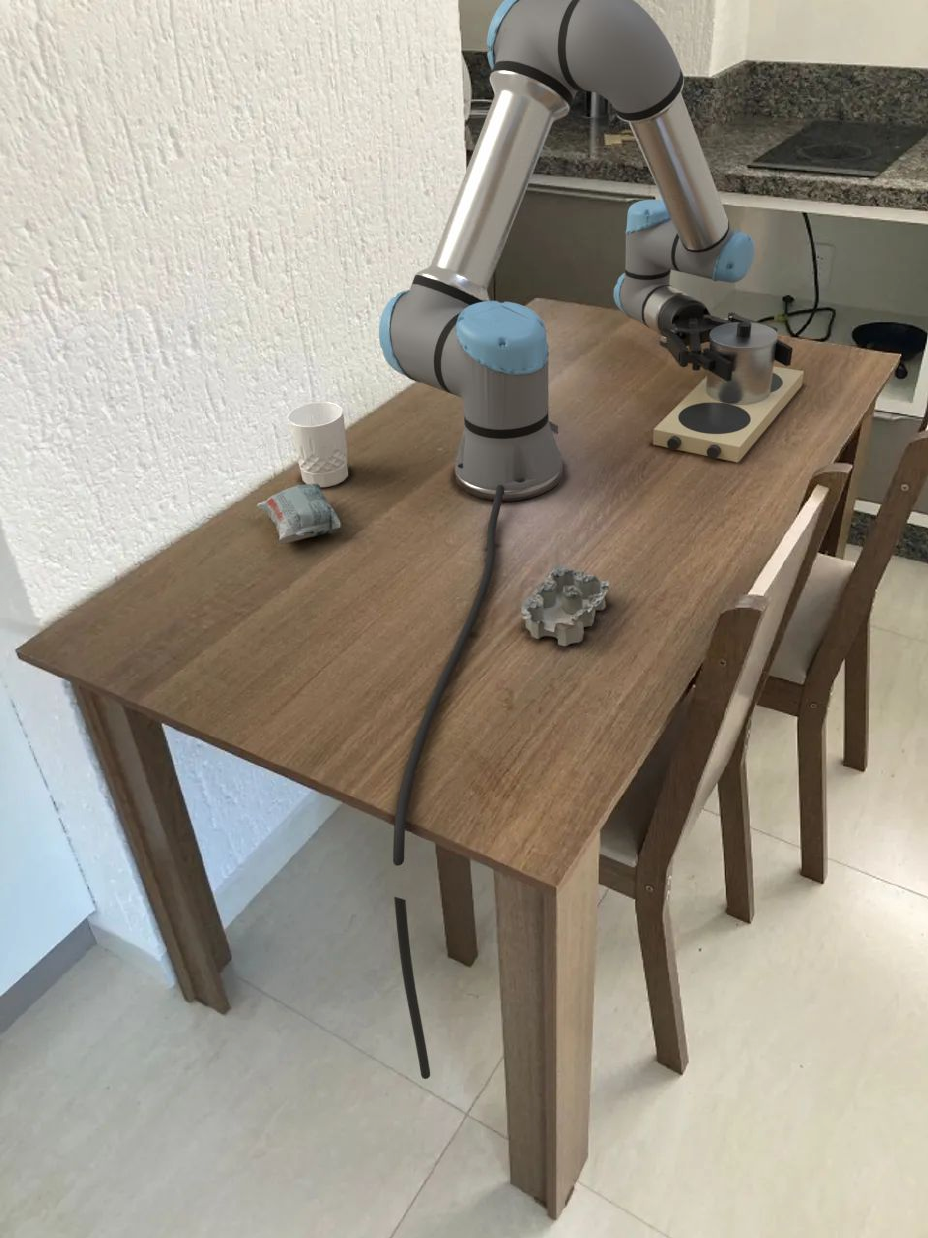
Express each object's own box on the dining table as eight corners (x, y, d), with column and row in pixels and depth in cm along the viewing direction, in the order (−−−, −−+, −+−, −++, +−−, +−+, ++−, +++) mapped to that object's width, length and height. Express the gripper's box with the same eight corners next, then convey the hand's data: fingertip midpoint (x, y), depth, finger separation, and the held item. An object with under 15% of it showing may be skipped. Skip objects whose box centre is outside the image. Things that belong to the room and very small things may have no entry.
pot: (756, 409, 150) (764, 341, 144) (694, 397, 155) (699, 330, 149) (780, 384, 156) (789, 317, 150) (720, 373, 161) (725, 307, 155)
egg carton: (574, 652, 112) (573, 623, 110) (515, 634, 115) (513, 605, 113) (615, 601, 119) (616, 572, 117) (558, 584, 122) (558, 556, 120)
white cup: (363, 470, 149) (354, 407, 143) (330, 494, 144) (319, 430, 138) (321, 459, 153) (311, 397, 147) (287, 482, 147) (275, 419, 141)
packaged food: (281, 557, 131) (275, 525, 128) (259, 516, 140) (252, 485, 137) (345, 540, 134) (340, 508, 131) (319, 500, 143) (314, 469, 140)
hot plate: (735, 465, 142) (737, 449, 141) (649, 447, 148) (650, 431, 147) (801, 385, 161) (803, 370, 160) (723, 372, 167) (724, 357, 166)
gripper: (733, 325, 171) (819, 372, 154) (616, 353, 165) (692, 405, 148) (737, 280, 166) (826, 324, 149) (617, 308, 160) (696, 356, 143)
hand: (759, 364), depth 149 cm, fingers closed on pot, 10 cm apart
